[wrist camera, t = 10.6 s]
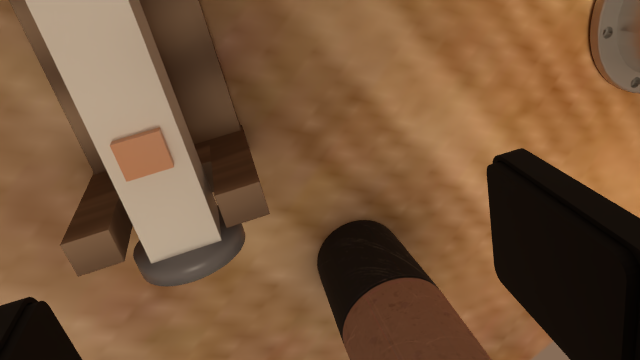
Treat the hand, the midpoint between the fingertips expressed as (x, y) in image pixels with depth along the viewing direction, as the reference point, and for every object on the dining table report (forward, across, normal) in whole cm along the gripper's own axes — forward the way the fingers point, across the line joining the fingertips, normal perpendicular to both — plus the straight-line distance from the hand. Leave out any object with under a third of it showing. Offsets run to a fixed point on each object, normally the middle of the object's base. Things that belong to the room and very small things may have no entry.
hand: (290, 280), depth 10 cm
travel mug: (+25, -5, +18) cm, 32 cm away
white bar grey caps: (+21, +6, -2) cm, 22 cm away
